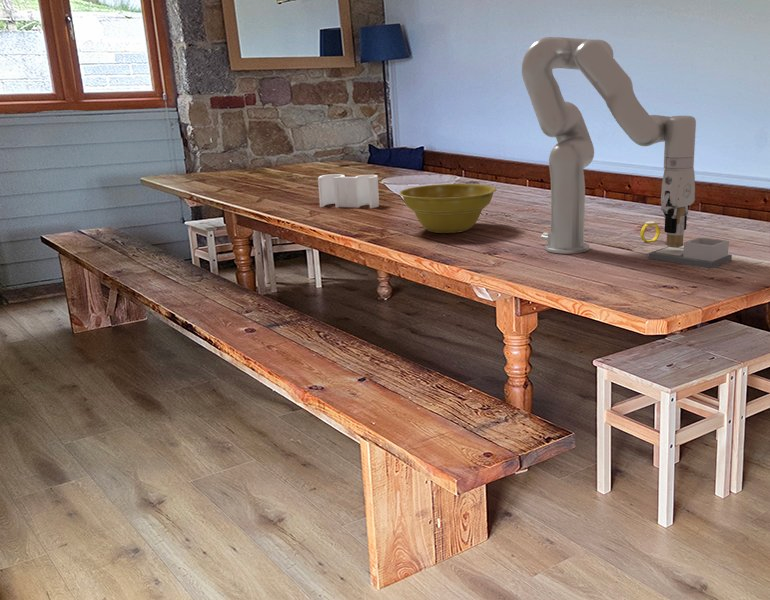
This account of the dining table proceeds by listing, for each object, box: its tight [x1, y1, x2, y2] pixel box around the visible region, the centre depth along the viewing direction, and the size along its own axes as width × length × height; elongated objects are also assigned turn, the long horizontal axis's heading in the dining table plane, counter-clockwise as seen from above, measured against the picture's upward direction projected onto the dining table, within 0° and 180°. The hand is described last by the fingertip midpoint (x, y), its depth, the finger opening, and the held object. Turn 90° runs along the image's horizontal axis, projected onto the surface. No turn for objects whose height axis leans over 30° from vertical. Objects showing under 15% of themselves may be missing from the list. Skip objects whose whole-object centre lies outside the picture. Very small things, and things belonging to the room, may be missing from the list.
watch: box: [639, 220, 661, 243], centre depth 242 cm, size 6×3×6 cm, turn 110°
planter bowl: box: [398, 183, 497, 234], centre depth 272 cm, size 32×32×13 cm
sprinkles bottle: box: [665, 204, 685, 248], centre depth 221 cm, size 5×5×13 cm
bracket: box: [317, 173, 380, 209], centre depth 329 cm, size 25×10×12 cm, turn 66°
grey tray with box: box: [647, 236, 733, 269], centre depth 219 cm, size 18×11×6 cm, turn 42°
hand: (675, 230), depth 221 cm, fingers closed on sprinkles bottle, 4 cm apart
